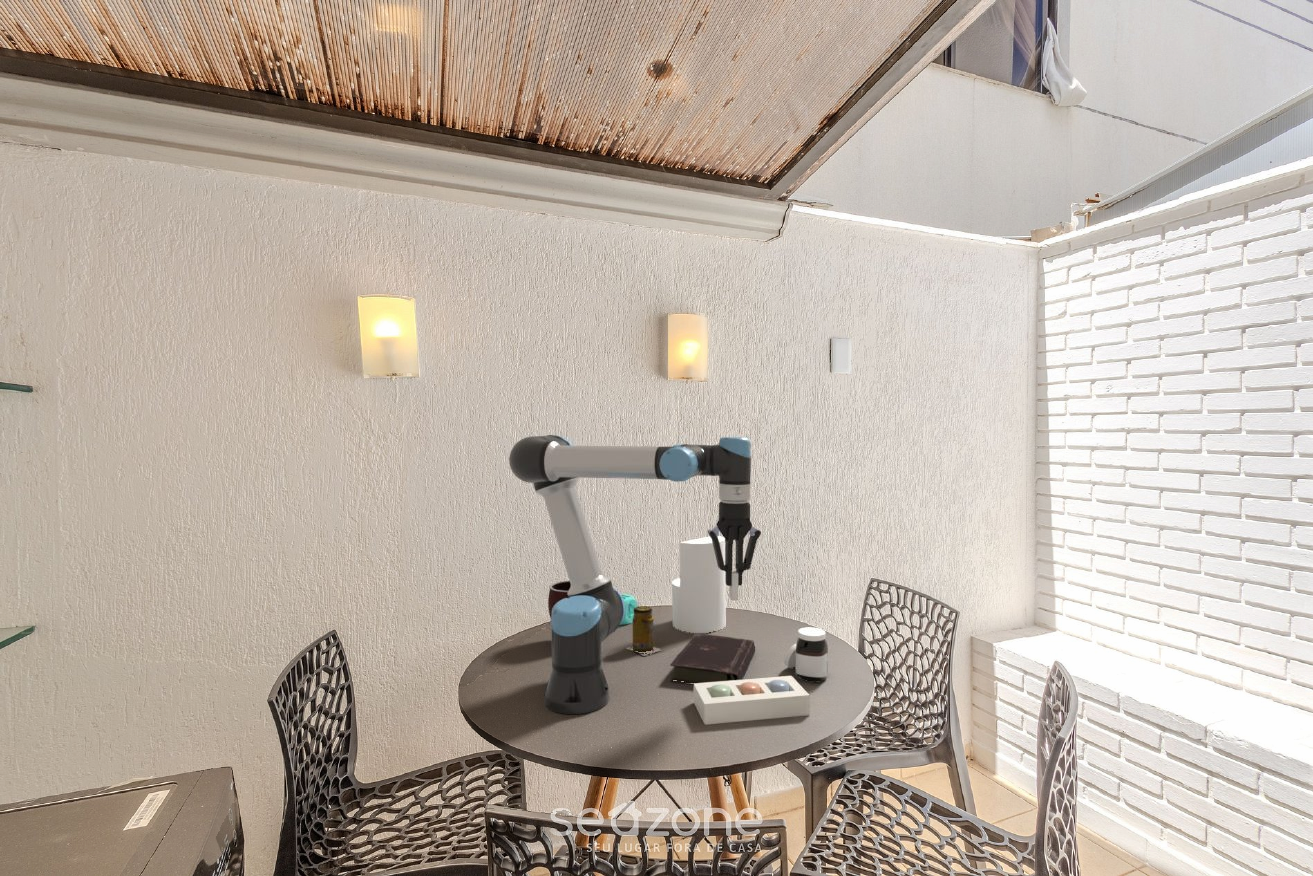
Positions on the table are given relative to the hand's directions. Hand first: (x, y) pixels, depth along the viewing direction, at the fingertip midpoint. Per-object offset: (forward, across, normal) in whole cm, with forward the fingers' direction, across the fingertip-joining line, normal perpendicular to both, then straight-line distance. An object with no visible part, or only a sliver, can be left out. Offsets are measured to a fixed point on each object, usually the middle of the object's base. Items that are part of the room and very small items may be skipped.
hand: (733, 598), depth 152 cm
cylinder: (+24, +2, +52) cm, 58 cm away
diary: (+24, -1, +17) cm, 29 cm away
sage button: (+21, -5, -9) cm, 24 cm away
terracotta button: (+21, +2, -9) cm, 23 cm away
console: (+23, +2, -9) cm, 25 cm away
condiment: (+24, -18, +33) cm, 44 cm away
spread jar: (+23, +22, +8) cm, 32 cm away
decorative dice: (+24, -22, +60) cm, 69 cm away
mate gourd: (+24, -38, +44) cm, 63 cm away
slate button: (+21, +9, -9) cm, 24 cm away
